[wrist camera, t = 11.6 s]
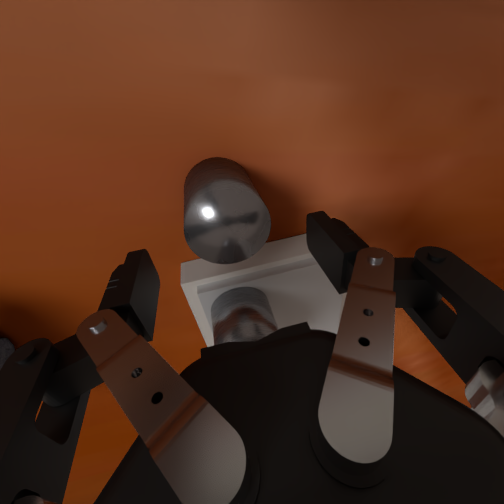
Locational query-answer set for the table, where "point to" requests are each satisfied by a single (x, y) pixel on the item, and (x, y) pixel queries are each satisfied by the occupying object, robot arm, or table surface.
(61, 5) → the table surface
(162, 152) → the table surface
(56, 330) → the table surface
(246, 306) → the grey glossy egg shape
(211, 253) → the cylinder
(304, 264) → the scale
